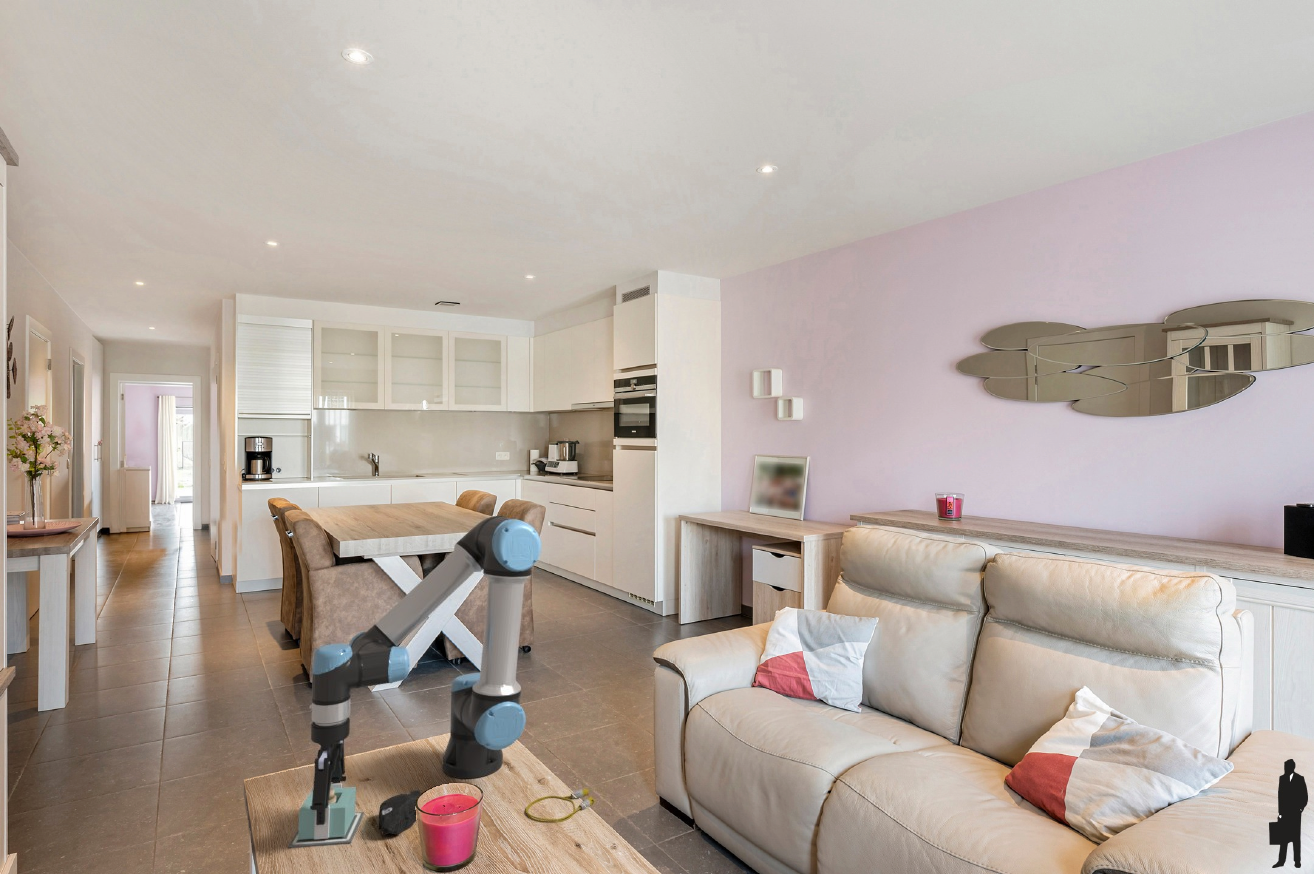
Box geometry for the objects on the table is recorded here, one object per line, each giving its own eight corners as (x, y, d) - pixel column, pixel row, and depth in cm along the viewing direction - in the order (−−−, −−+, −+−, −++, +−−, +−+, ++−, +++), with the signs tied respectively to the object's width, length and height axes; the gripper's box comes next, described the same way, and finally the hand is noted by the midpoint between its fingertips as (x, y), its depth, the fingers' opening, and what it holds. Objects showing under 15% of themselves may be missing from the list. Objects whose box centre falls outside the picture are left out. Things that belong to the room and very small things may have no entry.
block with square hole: (311, 816, 154) (312, 789, 154) (355, 814, 156) (355, 786, 156) (298, 839, 145) (298, 810, 146) (344, 836, 147) (345, 807, 147)
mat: (364, 813, 158) (364, 811, 158) (350, 843, 146) (350, 841, 146) (306, 817, 156) (306, 815, 156) (288, 847, 144) (288, 845, 144)
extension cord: (597, 821, 157) (597, 812, 157) (525, 827, 154) (525, 817, 154) (592, 794, 169) (592, 786, 169) (525, 799, 166) (525, 790, 166)
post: (337, 824, 152) (338, 786, 153) (333, 831, 149) (334, 793, 150) (322, 825, 152) (323, 787, 152) (318, 832, 149) (319, 794, 149)
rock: (426, 831, 151) (427, 803, 151) (382, 841, 147) (382, 813, 147) (418, 810, 160) (418, 784, 160) (375, 819, 155) (376, 792, 156)
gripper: (326, 701, 161) (324, 801, 161) (295, 741, 140) (292, 855, 139) (361, 700, 162) (358, 798, 162) (335, 739, 141) (333, 852, 141)
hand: (328, 825), depth 151 cm, fingers closed on block with square hole, 9 cm apart
